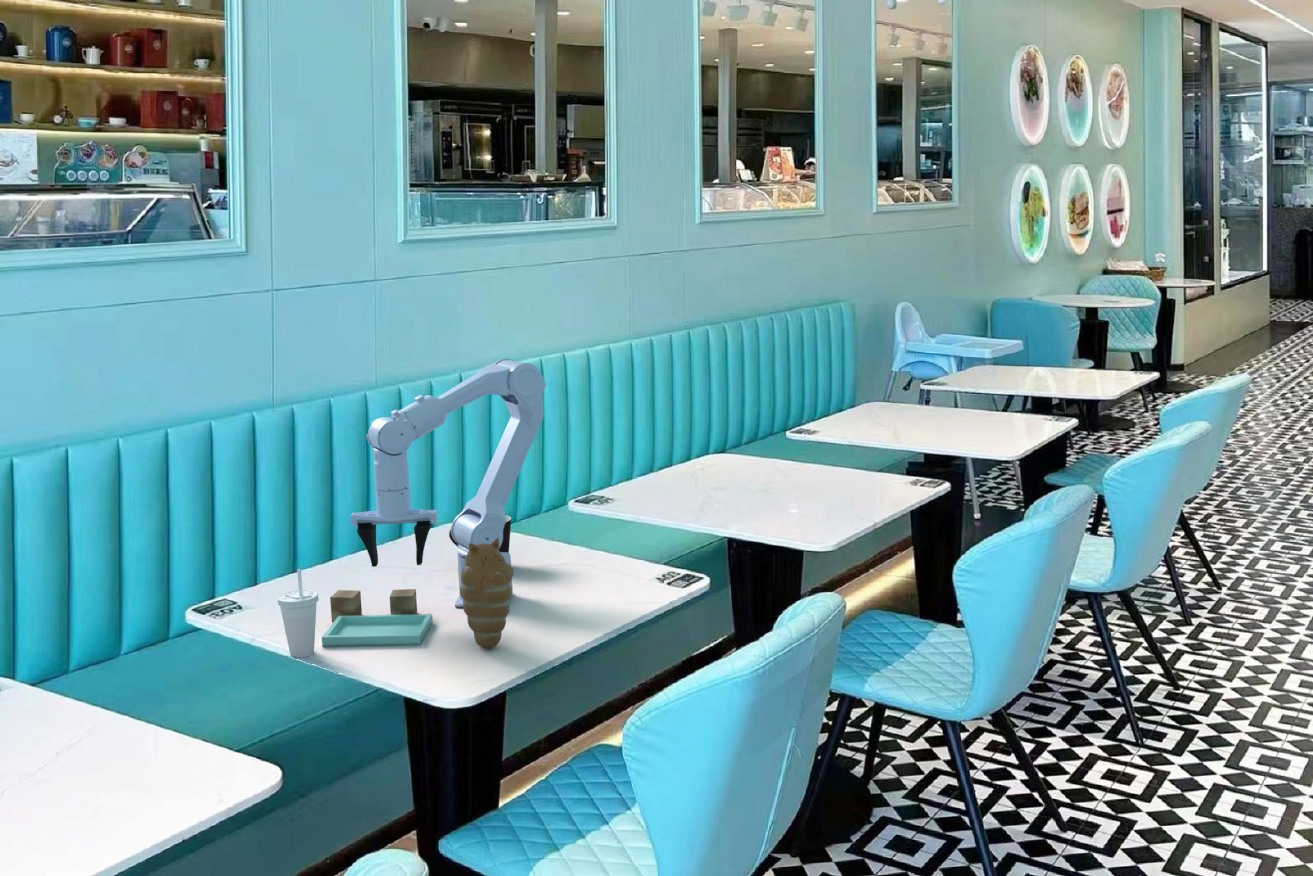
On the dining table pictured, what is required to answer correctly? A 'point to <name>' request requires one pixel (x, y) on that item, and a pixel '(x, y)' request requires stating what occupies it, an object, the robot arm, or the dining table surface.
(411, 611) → the block
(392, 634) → the tray
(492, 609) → the cat ice cream
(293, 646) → the smoothie
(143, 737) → the dining table surface
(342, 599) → the block
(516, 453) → the robot arm
